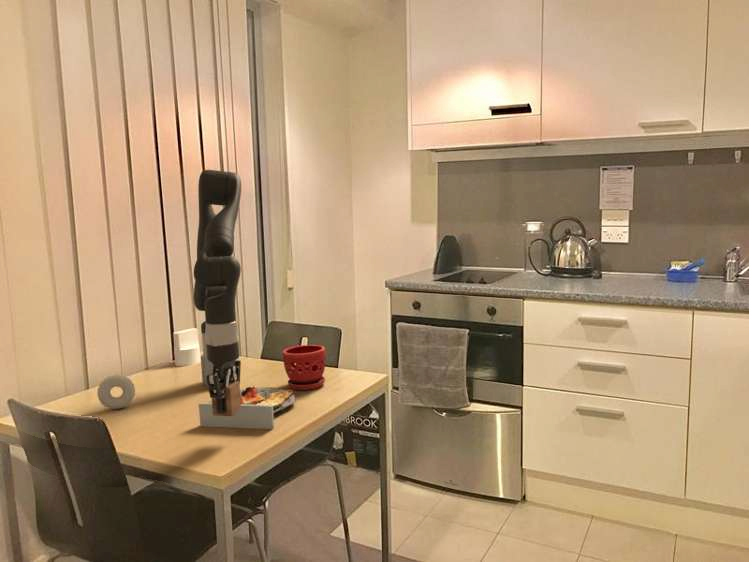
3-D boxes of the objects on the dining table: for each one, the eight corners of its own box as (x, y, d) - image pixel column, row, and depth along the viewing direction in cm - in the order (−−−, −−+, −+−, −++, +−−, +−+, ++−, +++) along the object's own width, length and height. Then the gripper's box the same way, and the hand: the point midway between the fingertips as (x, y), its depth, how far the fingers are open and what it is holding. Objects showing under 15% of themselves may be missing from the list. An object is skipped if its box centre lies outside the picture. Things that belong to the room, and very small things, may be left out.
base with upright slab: (190, 358, 227) (187, 327, 225) (205, 361, 222) (203, 329, 220) (170, 364, 219) (167, 332, 218) (185, 367, 214) (182, 334, 213)
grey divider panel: (200, 426, 156) (198, 403, 155) (202, 424, 157) (200, 402, 156) (272, 429, 152) (271, 406, 151) (274, 427, 153) (272, 405, 152)
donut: (98, 413, 169) (95, 379, 167) (99, 409, 172) (96, 375, 171) (136, 408, 172) (133, 374, 171) (136, 404, 175) (133, 371, 174)
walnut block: (212, 415, 143) (210, 387, 142) (222, 408, 148) (220, 380, 147) (232, 416, 142) (230, 387, 141) (241, 408, 147) (239, 381, 146)
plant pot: (329, 379, 193) (328, 343, 192) (322, 392, 180) (320, 353, 179) (290, 379, 194) (288, 343, 193) (280, 392, 182) (277, 354, 180)
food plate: (251, 389, 185) (250, 378, 185) (312, 400, 174) (311, 389, 173) (189, 417, 164) (188, 405, 164) (253, 432, 152) (252, 419, 152)
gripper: (221, 332, 150) (225, 398, 153) (192, 347, 136) (198, 418, 139) (249, 333, 149) (253, 399, 151) (223, 348, 135) (228, 420, 137)
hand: (226, 408), depth 145 cm, fingers closed on walnut block, 5 cm apart
